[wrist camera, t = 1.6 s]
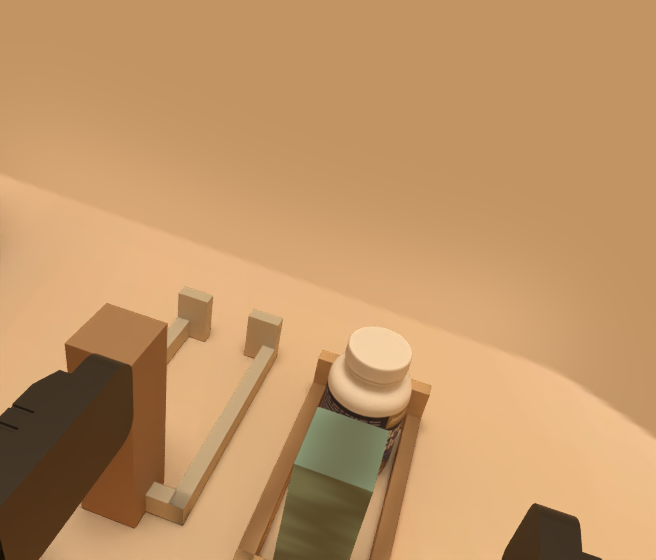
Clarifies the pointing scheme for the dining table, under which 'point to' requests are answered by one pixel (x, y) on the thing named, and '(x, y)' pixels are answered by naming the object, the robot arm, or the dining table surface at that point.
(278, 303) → the dining table surface
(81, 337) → the lane broken
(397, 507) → the tall sage green pillar
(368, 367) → the pill bottle
